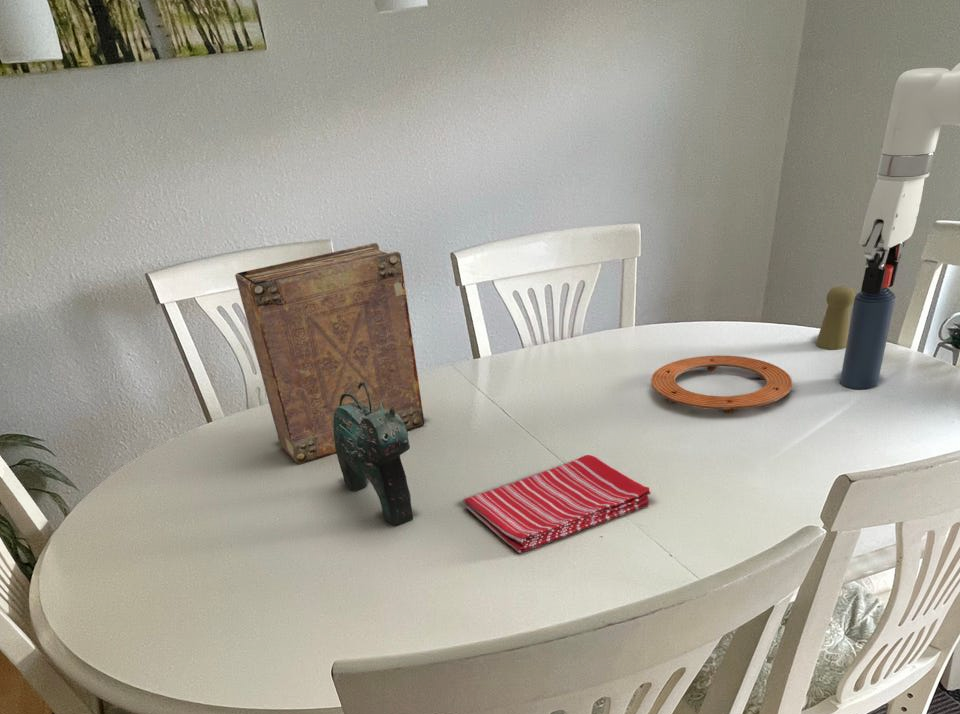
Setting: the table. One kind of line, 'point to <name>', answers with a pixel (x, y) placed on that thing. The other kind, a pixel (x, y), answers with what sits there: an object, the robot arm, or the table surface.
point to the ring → (771, 392)
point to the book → (331, 342)
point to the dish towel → (557, 502)
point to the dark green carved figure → (374, 454)
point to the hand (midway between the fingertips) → (877, 287)
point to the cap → (887, 275)
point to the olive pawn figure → (836, 318)
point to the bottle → (867, 339)
